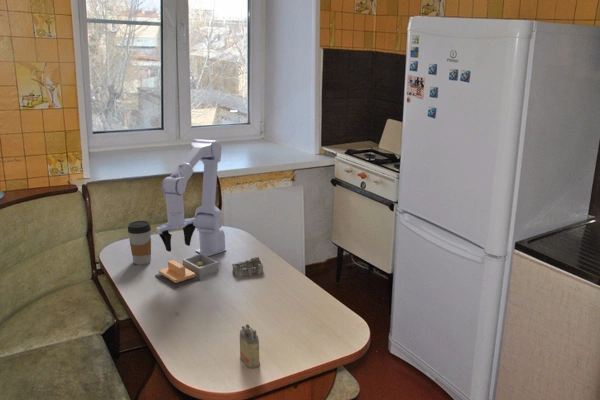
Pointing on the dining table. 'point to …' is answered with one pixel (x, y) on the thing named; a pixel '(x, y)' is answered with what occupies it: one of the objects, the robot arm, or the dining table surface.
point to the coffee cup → (140, 241)
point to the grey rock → (248, 267)
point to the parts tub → (201, 265)
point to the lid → (176, 272)
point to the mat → (179, 284)
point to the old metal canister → (249, 347)
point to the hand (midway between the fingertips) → (178, 247)
